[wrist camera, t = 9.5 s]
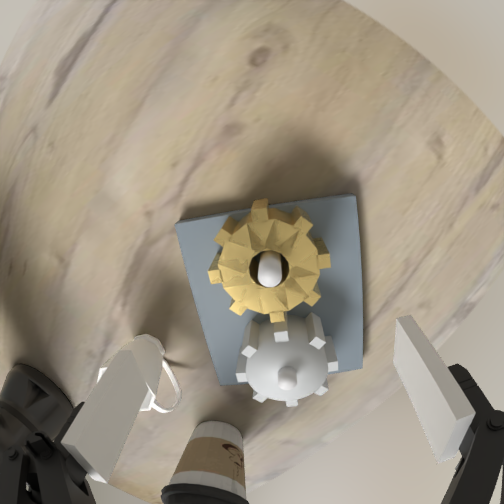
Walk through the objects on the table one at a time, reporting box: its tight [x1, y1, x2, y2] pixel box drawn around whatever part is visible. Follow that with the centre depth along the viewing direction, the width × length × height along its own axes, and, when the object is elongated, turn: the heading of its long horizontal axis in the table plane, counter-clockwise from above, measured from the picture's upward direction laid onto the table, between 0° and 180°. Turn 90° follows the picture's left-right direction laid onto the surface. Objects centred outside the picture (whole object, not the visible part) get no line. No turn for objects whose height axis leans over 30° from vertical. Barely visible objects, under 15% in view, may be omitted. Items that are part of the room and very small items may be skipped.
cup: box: [97, 334, 182, 413], centre depth 33 cm, size 7×10×8 cm
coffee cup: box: [161, 421, 249, 504], centre depth 34 cm, size 11×11×15 cm
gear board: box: [175, 193, 363, 407], centre depth 29 cm, size 17×20×8 cm
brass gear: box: [208, 198, 331, 323], centre depth 27 cm, size 10×10×4 cm
